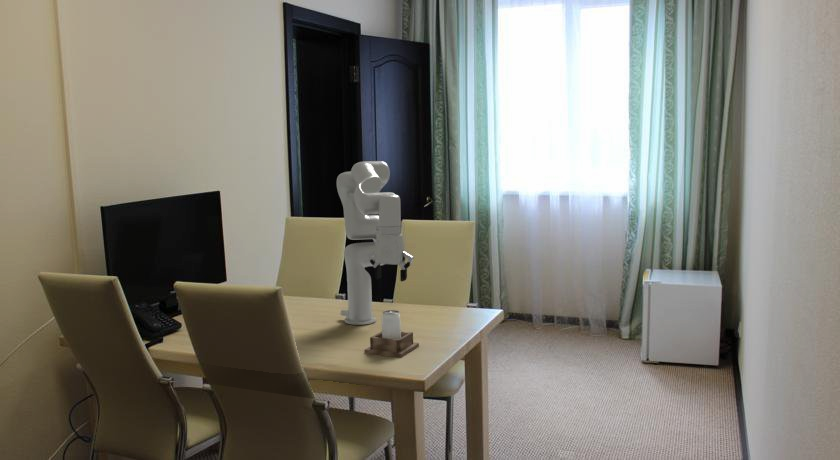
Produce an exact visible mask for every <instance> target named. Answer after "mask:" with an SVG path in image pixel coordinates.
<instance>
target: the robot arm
mask: <svg viewBox="0 0 840 460" xmlns="http://www.w3.org/2000/svg"><path fill="white" fill-rule="evenodd" d="M390 175H391V170H390V167H389V165H388V164H387V163H386V162H385V161H383V160H374V161H373V160H371V161H370V160H369V161H359V162H357V163H354V164H353V166H352V168H351V170H350V171H344V172H342V173H340V174H339V175H338V176H337V178H336V189H337V193H338V196H339V199H340V201H341V205H342V207H343V219H344V227H345V228H344V229H345V234H346V237H347V239H348V240H352V241H353V240H354V241H355V240H356V241H357V240H358V241H359V240H361V241H362V240H373V241H372V242H356V243H351V244H348V245H347V246H346V247H345V248H344V250H343V259H344V262H345V263H344V264H345V268H346V281H347V282H346V283H347V309H341V310H340V313H339V314H340V316H345V318H344V323H345V324H347V325H354V326H363V325H370V324H373V323H376V322H377V317H375V316H373V299H372V297H373V295H372V277H371V275H370V273H369V272H368V271H367V270H366V269H365V268H368V267H373V268H374V276H375V280H379V279H381V278H382V267H381V266H384V265H394V266H395V265H397V266H399V267H400V269H401V270H400V272H399V273H400V277H399V279H400V282H404V281H406V280H407V279H408V269H409V267H410V266H412V263H413V261H414V259H415V257H414V256H413V255H411V254H409V253H408V252H406V246H405V240H404V235H403V234H402V222H401V219H402V218H401V215H402V214H401V213H402V212H401V198H400V195H398V194H395V193H394V192H393V191H392V192H390V191H389V192H388V191H386V192H381V191H382V189H383V188H384V187H385V186H386V184H387V183H388V182H389V181H390ZM406 259H407V262H406Z"/></svg>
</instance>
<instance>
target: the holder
mask: <svg viewBox="0 0 840 460" xmlns="http://www.w3.org/2000/svg"><path fill="white" fill-rule="evenodd" d="M369 343H370V346H368V347H366V348H365V349H364V354H367V355H368V354H369V355H379V356H388V357H396V358H403V357H404V356H406V355H408V354H410V353H411V352H412V351H414V350H416V349H417V348H418V347H420V343H419V342H414V332H413V331H411V332H410V331H402V330H401V338H399V339H388V338H382V331H380V332H378V333H376V334H374V335H373V336H370V337H369Z"/></svg>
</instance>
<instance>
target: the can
mask: <svg viewBox="0 0 840 460" xmlns="http://www.w3.org/2000/svg"><path fill="white" fill-rule="evenodd" d="M401 324H402V322H401V315H400V311H399V310H395V309H393V310H390V309H389V310H385V311H383V312H382V315H381V332H382V338H388V339H399V338H401V331H402V325H401Z"/></svg>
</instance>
